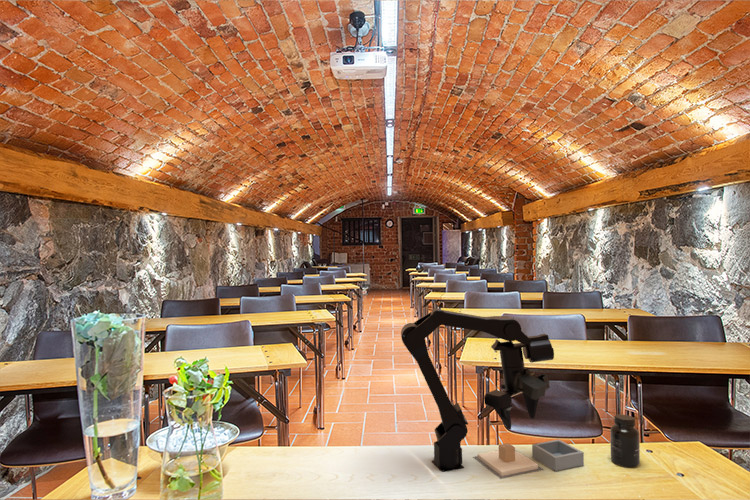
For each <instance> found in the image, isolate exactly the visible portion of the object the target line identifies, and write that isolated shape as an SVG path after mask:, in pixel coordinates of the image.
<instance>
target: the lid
mask: <svg viewBox="0 0 750 500" xmlns="http://www.w3.org/2000/svg"><path fill="white" fill-rule="evenodd" d="M477 456H478V459H480V460H481V461H482V462H484V463H485V464H486V465H488V466H489V467H490V468H492V469H493V470H494V471H496V472H497V473H498V474H500V475H501V476H505V475H510V474H515V473H519V472H524V471H529V470H534V469H538V466H539V464H537V463H536V462H534V461H533V460H531V459H530V458H528V457H527V456H525V455H523V454H521V452H518V451H517V450H516V447H515V446H513V445H512V444H510V443H508V442H507V443H502V444H498V450H493V451H487V452H482V453H477Z"/></svg>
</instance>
